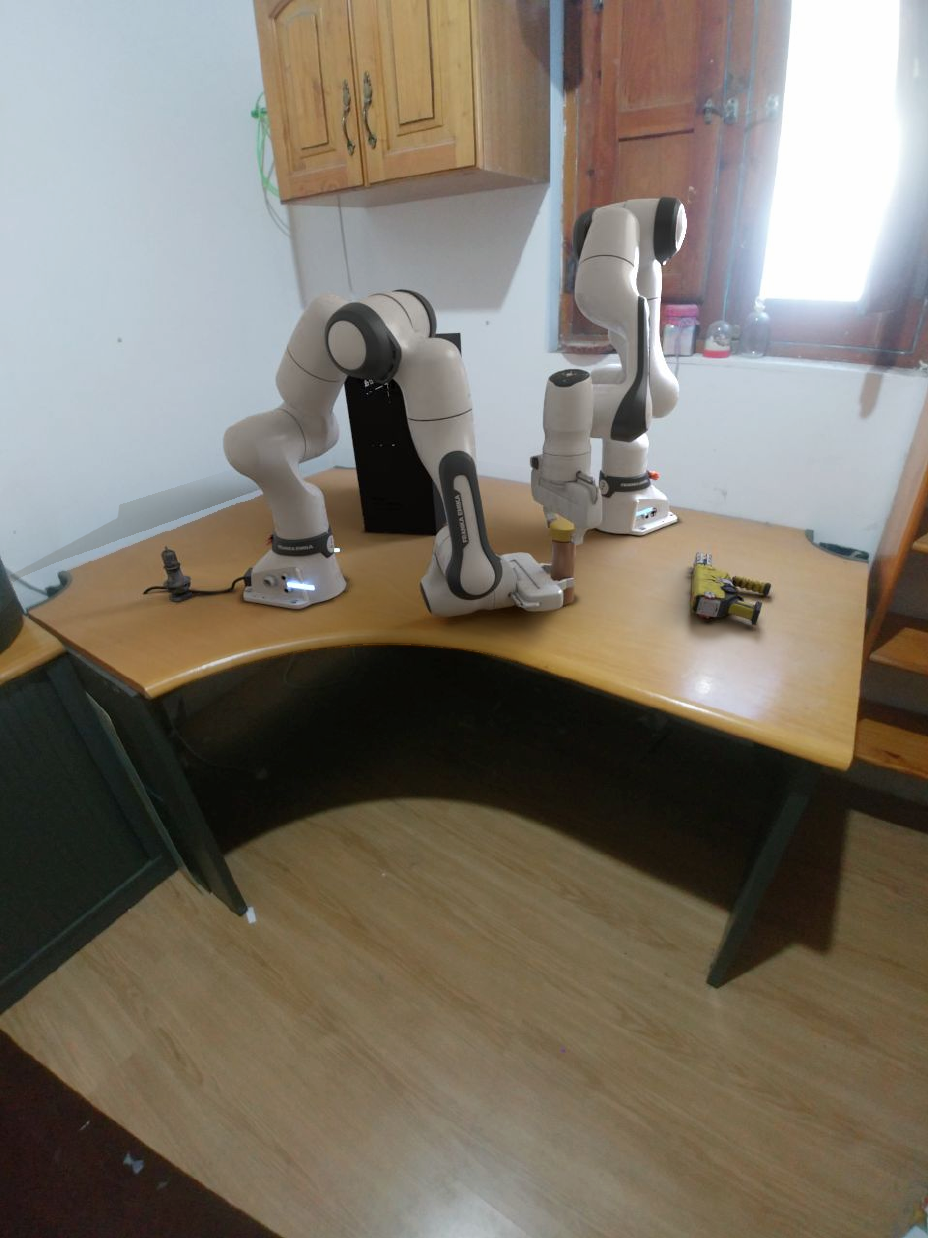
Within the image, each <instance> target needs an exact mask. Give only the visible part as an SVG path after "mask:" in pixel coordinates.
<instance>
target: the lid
mask: <svg viewBox="0 0 928 1238" xmlns="http://www.w3.org/2000/svg"><path fill="white" fill-rule="evenodd" d="M575 530H576V529H574V524H573V523H572V522H570V521H568V520H567V519H565V518H564V519H563V518H562V519H557V520H556V521H553V522H551V523H550V526H549V528H548V531H549V532H548V536H549V538H550V539H553V540H556V541H571V535H572V534H574V533H575Z"/></svg>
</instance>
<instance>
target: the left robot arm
mask: <svg viewBox="0 0 928 1238" xmlns="http://www.w3.org/2000/svg"><path fill="white" fill-rule="evenodd" d="M437 324H438V321H437V316H436V312H435V310H434V307H433V305H432V304H431V303H430V301H429V300H428V299H427V298H426V297H425V296H424V295H422V294H421V293H419V292H417V291H414V290H410V289H402V288H401V289H394V290H391V291H384V292H378V293H373V294H370V295H368V296H366V297H364V298H361V299H358V300H357V301H353V302H350V301H348V300H346V299H345V297H342V296H341V295H337V294H333V293H321V294H318V295H316V296H315V297H313V298H312V299H311V300H310V302H309V303H308V304H307V306H306V307H305V308H304V310H303V312H302V314H301V315H300V317H299V319H298V320H297V322H296V323H295V326H294V328H293V330H292V332H291V334H290V336H289V339H288V341H287V344H286V347H285V349H284V352H283V355H282V358H281V360H280V362H279V365H278V368H277V371H276V374H275V377H274V379H275V386H276V389H277V391H278V394H279V396H280V397H281V399H282V400H283V402H282V403H281V404H280V405H279V406H278V407H276V408H274V409H270V410H267V411H263V412H258V413H256V414H252V415H247V416H245V417H244V418H242V419H240V420H238V421H236V422H234V423H233V424H232V425H230V426H228V427H227V428H226V430H225V431H224V434H223V438H222V449H223V453H224V456H225V459H226V460H227V462H228V463H229V465H230V466H231V467H232V468H233V470H235V471H236V472H237V473H238V474H240V475H242V476H244V477H246V478H248V479H250V480H251V481H252V482H253V483H255V484H256V485H257V487H258V488H259V489H260V491H261V492H262V493H263V495H264V497H265V499H266V502H267V505H268V509H269V511H270V515H271V519H272V523H273V526H274V531H273V532H272V533H270V534H269V537H268V538H266V540H265V542H266V546H268V545H270V544H271V548H270V549H269V550H268V551H267V552H266V553H265V554H264V555H263V556H262V557H261V558H260V559H259V560H258V561H257V562H256V563H255V564H254V565H253V567H248V569H247V570H246V572H245V573H244V574H243V576H240V577H237V578H235V579H234V580H233V581H232V582H231V586H230V587H228V588H227V589H224V590H217V591H216V590H215V591H214V590H196V589H195V590H194V589H189V590H187V591H189V592H192V593H194V595H196V594H197V595H219V594H225V593H231V592H232V591H234V590H235V586H236V584H237V583H238V582H240V581H243V584H244V587H245V589H244V591H243V593H242V595H243V596H242V597H243V601H245V602H250V603H256V604H262V605H267V606H268V605H269V606H274V607H279V608H280V607H281V608H286V609H293V610H301V609H304V608H306V607H309V606H311V605H313V604H318V603H321V602H325V601H328V600H331V599H333V598H336V597H337V596H339V595H340V594H341V593H343V592H344V590H346V588H347V582H346V579H345V578H344V576H343V574H342V571H341V569H340V566H339V564H338V561H337V557H336V553H339V552H340V548H335V540H334V536H333V530H332V527H331V525H330V524H329V519H328V513H327V509H326V501H325V497H324V494H323V492H322V490H321V489H320V488H319V486H316V485H315V484H313V483H311V482H308V481H305V480H304V478H303V476H302V474H301V471H300V466H299V464H302V463H305V462H309V461H311V460H313V459H317V458H320V457H321V456H323V455H324V454H326V453H327V452H328V451H330V450H331V449H332V448H334V447H335V446H336V445H337V444H338V442H339V438H340V424H339V421H338V418H337V416H336V414H335V413H334V412H333V410H334V407H335V404H336V401H337V400H338V398H339V395H340V393H341V391H342V389H343V386H344V382H345V380H346V378H347V376H348V375H349V376H352V377H356V378H361V379H368V380H371V381H375V382H377V383H381V384H385V385H386V383H388V382H389V381H390V380H392V379H394V380H395V381H396V382H397V383H398V384H399V386H400V388H401V390H402V393H403V397H404V402H405V408H406V414H407V420H408V425H409V429H410V433H411V437H412V440H413V443H414V446H415V448H416V451H417V453H418V456H419V458H420V460H421V461H422V463H423V464H424V466H425V468H426V469H427V471H428V472H429V474H430V476H431V477H432V479H433V481H434V483H435V484H436V486H437V488H438V491H439V493H440V495H441V498H442V501H443V505H444V509H445V514H446V525H443V526H442V527H441V529H440V530H439V532H438V533H437V534H435V536H434V538H433V548H432V553H431V558H430V561H429V565H428V567H427V570H426V572H425V574H424V575H423V577H421V579H420V581H419V589H420V593H421V597H422V599H423V602H424V605H425V607H426V609H427V611H428V613H429V614H431V615H432V616H435V617H439V618H442V617H443V618H447V617H456V616H463V615H470V614H472V613H475V612H476V611H482V610H485V611H492V610H498V609H503V608H504V609H505V608H510V607H514V606H516V607H517V608H521V609H524V610H525V611H527V612H546V611H555V610H559V609H561V608H562V607H563V606H564V605H563V590H565V589H566V588H570V587H573V586H574V587H575V584H574V579H573V578H572V577H571V576H568V577H563V580H561V581H559V582H558V580H556V581H553V580H552V578H551V563H546V562H545V563H544V562H541V563H538V562H537V560H536V559H534V557H533V556H532V555H531V554H530V553H528V552H521V551H520V552H512V553H504V554H501V555H499V554H496V552H494V550H493V549H492V547H491V544H490V542H489V538H488V537H489V536H488V533H487V527H486V521H485V514H484V508H483V502H482V497H481V496H482V495H481V491H480V484H479V477H478V463H477V462H478V461H477V451H476V449H477V448H476V430H475V418H474V408H473V401H472V394H471V388H470V385H469V380H468V375H467V371H466V368H465V364H464V361H463V357H462V358H461V355H460V352H459V350H458V348H457V347H456V346H455V345H454V344H453V343H451V342H450V341H447V340H445V339H441V338H434V337H435V334H437V330H438V329H437V328H438V325H437ZM386 377H387V378H386ZM385 378H386V379H385ZM154 590H166V591H168V590H167V589H166V588H165V587H164V586H163V585H159V586H158V585H154V586H153V585H152V586H150V587H148V588H146V589H145V590H144V591H143V593H142V595H147V594H148V593H149V592H150V591H154Z"/></svg>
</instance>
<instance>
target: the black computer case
mask: <svg viewBox="0 0 928 1238" xmlns="http://www.w3.org/2000/svg"><path fill="white" fill-rule="evenodd" d="M434 338H441V339H445V340H447V341H450V342H451V343H453V344H454V345H455V346H456V347H457V348H458V350H459V352H460V355H461V358H462V359H463V357H462V356H463V355H462V354H463V353H462V336H461V332H447V333H446V332H442V333H441V332H440V333H436V334H435V337H434ZM386 378H387V377H386ZM386 378H385V379H386ZM343 386H344V387H343V388H344V394H345V395H344V396H345V400H346V408H347V409H346V410H347V415H348V421H349V430H350V436H351V437H350V438H351V444H352V450H353V458H354V463H355V464H354V465H355V470H356V471H355V472H356V477H357V485H358V492H359V498H360V499H359V500H360V506H361V514H362V520H363V528H364V532H367V533H368V532H370V533H393V534H394V533H395V534H416V535H417V534H419V535H436V534H437V533H438V532H439V530H440V529H442V528H443V527H444V526H445V523H447V520H446V514H445V509H444V505H443V501H442V498H441V495H440V493H439V491H438V488H437V486H436V484H435V483H434V481H433V479H432V477H431V476H430V474H429V472H428V471H427V469H426V468H425V466H424V464H423V463H422V461H421V460H420V458H419V456H418V453H417V451H416V448H415V446H414V443H413V440H412V437H411V433H410V429H409V425H408V420H407V414H406V408H405V402H404V397H403V393H402V390H401V388H400V386H399V384H398V383H397V382H396V381H395V380H394V379H392V380H390V381H389V382H388V383H386V384H381V383H377V382H375V381H372V380H368V379H361V378H356V377H352V376H349V375H348V376H347V378H346V380H345V382H344V384H343Z"/></svg>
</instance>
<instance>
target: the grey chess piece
mask: <svg viewBox="0 0 928 1238" xmlns="http://www.w3.org/2000/svg"><path fill="white" fill-rule="evenodd" d="M160 556H161V559H162V562H163V567H162V568H163V570H165V572H166V575H167V579H166V580H165V581H164V582H163V583H162V586H164V587H165V588H166V589H167V590H166V591H167V592H168V593H170V595H169V596H168V599H169V601H172V602H180V601H185V600H187V599H190V598H192V597H193V596H194V595H195V594H194V593H192V592H189V591H187V590H190V588H191V585H192V582H191V581H192V577H191V576H189V575H184V573H183V571H182V569H181V566H182V563H181V562H179V559H178V557H177V554H176V551H175V550H173V549H169V547H168V546H165V547H164V550H163V551H162V552H161V553H160Z"/></svg>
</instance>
